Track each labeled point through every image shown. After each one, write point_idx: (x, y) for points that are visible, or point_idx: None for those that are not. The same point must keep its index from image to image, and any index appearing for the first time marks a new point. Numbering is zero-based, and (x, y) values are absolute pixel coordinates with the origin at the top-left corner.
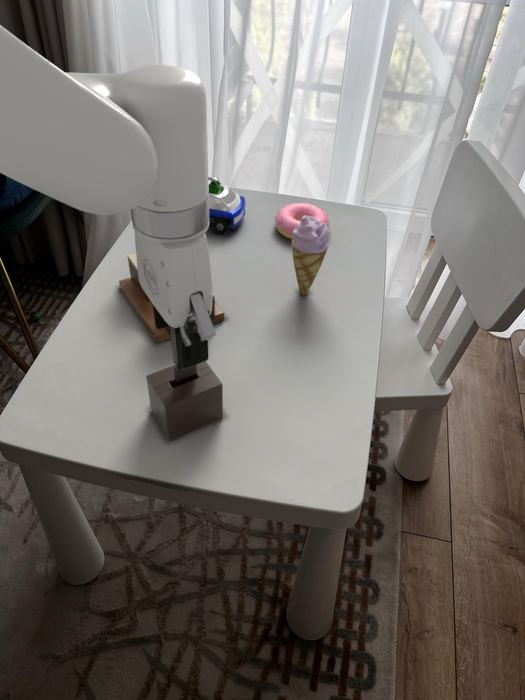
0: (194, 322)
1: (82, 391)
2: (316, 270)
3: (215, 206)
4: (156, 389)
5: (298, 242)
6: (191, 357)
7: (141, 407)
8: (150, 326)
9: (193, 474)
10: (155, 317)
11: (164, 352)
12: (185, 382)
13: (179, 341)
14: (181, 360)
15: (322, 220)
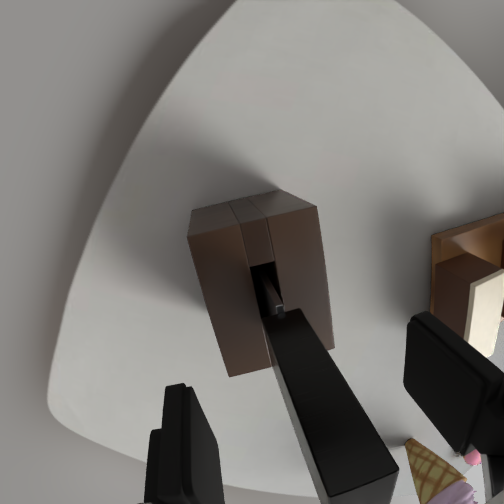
0: (438, 314)
1: (365, 75)
2: (414, 483)
3: None
4: (257, 224)
5: (453, 493)
6: (150, 453)
7: (294, 171)
8: (462, 234)
9: (108, 241)
10: (447, 342)
11: (408, 243)
12: (265, 299)
13: (292, 407)
14: (178, 402)
15: (474, 463)
